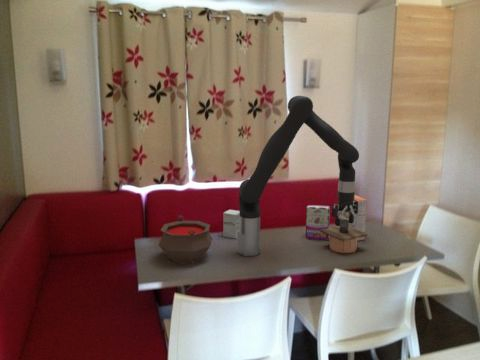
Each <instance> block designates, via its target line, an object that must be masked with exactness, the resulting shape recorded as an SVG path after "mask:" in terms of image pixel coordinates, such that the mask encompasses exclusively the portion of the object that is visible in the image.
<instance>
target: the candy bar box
mask: <svg viewBox="0 0 480 360" xmlns="http://www.w3.org/2000/svg"><path fill="white" fill-rule="evenodd" d="M330 211H331V206H329V205H314V204H308V205H307V206H306V209H305V213H306V215H305V220H306V221H305V239H309V240H310V239H311V240H318V241H328V240H329V239H330V236H329V235H327V234H324V233H322V232H320V231H321V230H322V229H327V228H330V213H331V212H330Z"/></svg>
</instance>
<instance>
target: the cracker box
mask: <svg viewBox="0 0 480 360" xmlns="http://www.w3.org/2000/svg"><path fill="white" fill-rule="evenodd" d="M354 201H357V202H358V214H355V216H354V222H353V223H352V224H351V223H349V227H350V228H353V229H356V230H358V231H361V232H364V233H366V224H367V223H366V222H367V221H366V220H367V209H368V208H367V207H368V199H366V198H363V197H361V196H359V195H356V194H355V197H354ZM349 215H350V214H349V212H345V213H343V215H341V217H340V220H341V219H346V220H349ZM365 238H366V236H365V237H360V238H357V242H360V241H365Z"/></svg>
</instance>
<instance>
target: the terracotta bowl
mask: <svg viewBox="0 0 480 360" xmlns="http://www.w3.org/2000/svg"><path fill="white" fill-rule="evenodd" d="M329 249H330V250H331V251H334V252H335V253H341V254H342V253H343V254H351V253H354V252H356V251H357V249H358V241H357V238H356V239H351V240H347V241H341V240H339V239H336V238H334V237H331V236H329Z"/></svg>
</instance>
